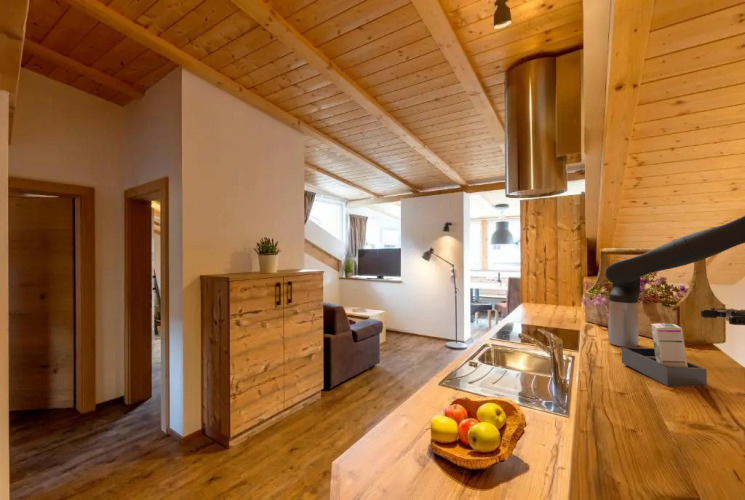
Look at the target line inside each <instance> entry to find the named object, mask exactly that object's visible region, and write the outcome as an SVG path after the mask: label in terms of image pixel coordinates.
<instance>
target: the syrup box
mask: <svg viewBox="0 0 745 500" xmlns="http://www.w3.org/2000/svg"><path fill="white" fill-rule="evenodd" d="M650 325H651V326H650V327H651V333H652V340H653V348H654V349H655V357H656V362H658V363H661V364H663V365H665V366H667V367H686V368H688V365H687V361H688V359H687V352H686V345H685V338H684V331H683V328H682V327H681V326H679V325H677V324H676V323H666V322H665V323H663V322H660V323H659V322H658V323H650Z"/></svg>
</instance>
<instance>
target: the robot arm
mask: <svg viewBox="0 0 745 500" xmlns="http://www.w3.org/2000/svg"><path fill="white" fill-rule="evenodd" d="M742 244H745V215H743V216H741V217H738V218H736V219H734V220H731V221H729V222H727V223H724V224H722V225H717V226H713V227H711V228H707V229H702V230H699V231H697V232H696V231H695V232H692V233H689V234H687V235H684V236H681V237H679V238H676V239H674V240H673V239H672V240H671V241H669V242H667V243H664V244H662V245H660V246H657V247H655V248H653V249H651V250H648V251H646V252H645V253H642V254H639V255H635V256H633V257H631V258H625V259H623V260H618V261H614V262H612V263H610V264H609V265H608V266H607V267H606V269H605V273H604V274H605V277H606V279H607V280H608V281H609V282H610V283H612V284H611V285H612V286H611V290H610V292H609V294H608V319H607V326H608V327H607V329H608V330H607V331H608V332H607V333H608V334H607V341H608V343H609V344H611V345H614V346H618V347H621V348H622V347H631V348H635V347H634V346H638V347H639V298H640V294H641V293H640V292H641V278H642V277H644V276H646V275H650V274H652V273H656V272H661V271H666V270H671V269H674V268H675V269H676V268H679V267H684V266H686V265H690V264H693V263H696V262H699V261H703V260H706V259H708V258H711V257H713V256H716V255H718V254H721V253H723V252H725V251H728V250H731V249H732V248H734V247H737V246H740V245H742ZM700 316H701V318H707V319H709V318H711V319H723V320H726V321H727V322H728V323H729V324H730V325H732V326H745V309H742V308H741V309H734V308H716V307H711V308H710V309H702V310H701V311H700Z"/></svg>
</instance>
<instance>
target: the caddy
mask: <svg viewBox="0 0 745 500" xmlns="http://www.w3.org/2000/svg"><path fill="white" fill-rule="evenodd" d="M621 363H622V364H623V365H626V366H628V367H630V368H631V369H633V370H636V371H638V372H639V373H640V374H643V375H644V376H646V377H648V378H651V379H652V380H654V381H656V382H659V383H660V384H661V385H663V386H666V387H693V386H696V387H697V386H699V387H700V386H708V382H707V381H708V380H707V379H708V372H707V371H708V370H707V368H705V367H702V366H699V365H697V364H694V363H692V362H690V361H688V360H687V365H688V368H686V367H667V366H665V365H663V364H661V363H658V362H656V357H655V349H654V347H622V346H621Z"/></svg>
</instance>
